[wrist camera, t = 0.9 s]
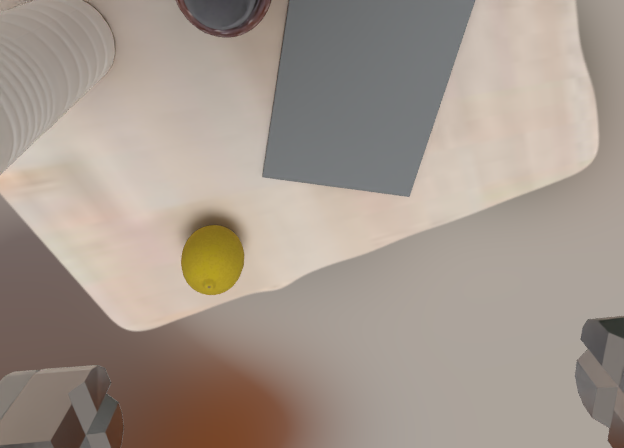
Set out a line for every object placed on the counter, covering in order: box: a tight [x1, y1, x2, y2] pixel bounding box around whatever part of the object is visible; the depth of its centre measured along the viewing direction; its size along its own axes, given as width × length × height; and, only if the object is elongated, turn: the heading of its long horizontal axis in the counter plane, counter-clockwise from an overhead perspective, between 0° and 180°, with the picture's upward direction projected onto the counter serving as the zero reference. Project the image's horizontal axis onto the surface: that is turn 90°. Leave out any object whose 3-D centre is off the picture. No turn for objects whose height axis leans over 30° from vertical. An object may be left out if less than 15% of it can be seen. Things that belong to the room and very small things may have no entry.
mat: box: [263, 0, 475, 197], centre depth 40 cm, size 21×14×1 cm, turn 169°
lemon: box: [181, 225, 244, 295], centre depth 44 cm, size 6×6×8 cm
